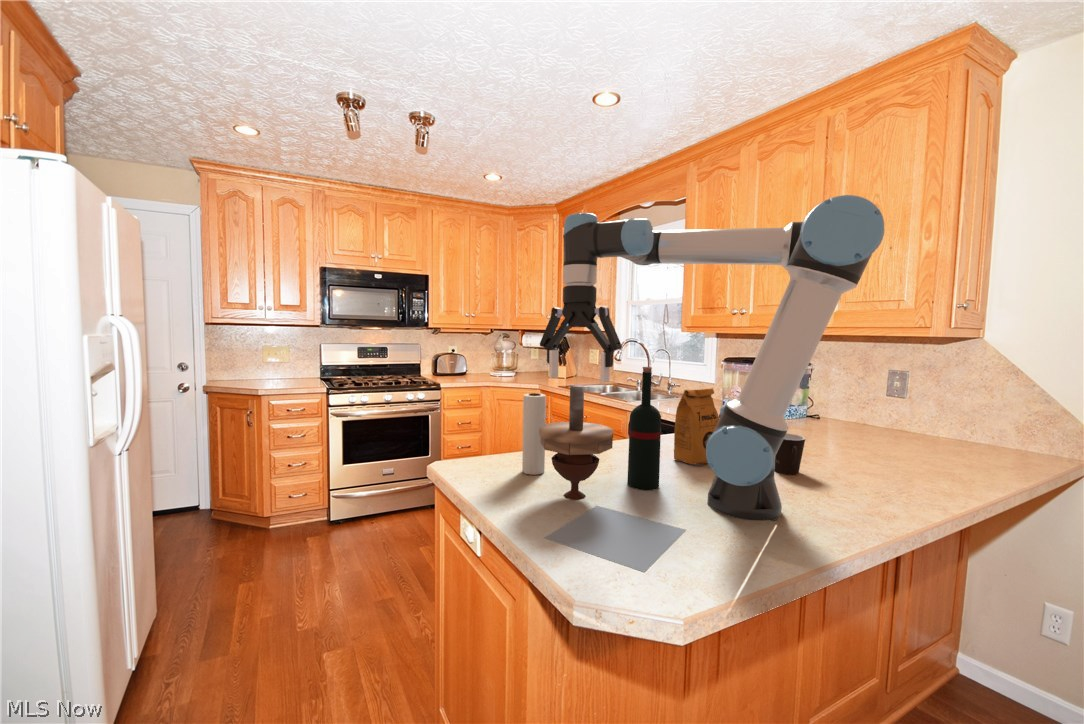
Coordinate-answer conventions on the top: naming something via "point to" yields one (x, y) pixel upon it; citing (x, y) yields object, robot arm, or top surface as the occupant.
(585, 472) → the ice cream bowl
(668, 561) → the top surface
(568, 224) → the robot arm
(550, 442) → the lid
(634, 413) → the wine bottle
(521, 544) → the top surface
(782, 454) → the coffee mug
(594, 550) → the mat
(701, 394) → the coffee package
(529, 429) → the paper towel roll
